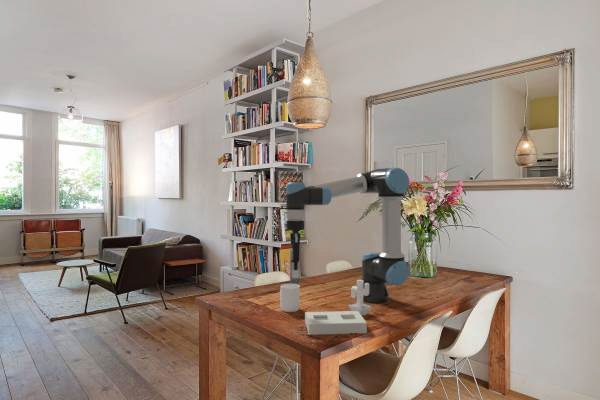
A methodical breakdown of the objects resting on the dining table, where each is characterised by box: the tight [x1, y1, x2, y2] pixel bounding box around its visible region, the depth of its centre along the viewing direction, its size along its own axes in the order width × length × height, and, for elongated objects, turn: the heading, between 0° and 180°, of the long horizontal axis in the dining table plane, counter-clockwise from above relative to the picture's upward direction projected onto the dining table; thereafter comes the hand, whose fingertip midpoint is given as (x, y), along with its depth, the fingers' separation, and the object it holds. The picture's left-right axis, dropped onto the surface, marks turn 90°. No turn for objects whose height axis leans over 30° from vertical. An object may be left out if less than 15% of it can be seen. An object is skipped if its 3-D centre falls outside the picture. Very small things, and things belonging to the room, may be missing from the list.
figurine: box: [347, 279, 372, 317], centre depth 164 cm, size 7×9×15 cm
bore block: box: [304, 310, 368, 336], centre depth 147 cm, size 22×14×4 cm, turn 95°
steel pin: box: [289, 248, 301, 285], centre depth 154 cm, size 4×4×14 cm
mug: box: [279, 283, 301, 313], centre depth 171 cm, size 9×12×11 cm
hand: (295, 276), depth 154 cm, fingers closed on steel pin, 4 cm apart
